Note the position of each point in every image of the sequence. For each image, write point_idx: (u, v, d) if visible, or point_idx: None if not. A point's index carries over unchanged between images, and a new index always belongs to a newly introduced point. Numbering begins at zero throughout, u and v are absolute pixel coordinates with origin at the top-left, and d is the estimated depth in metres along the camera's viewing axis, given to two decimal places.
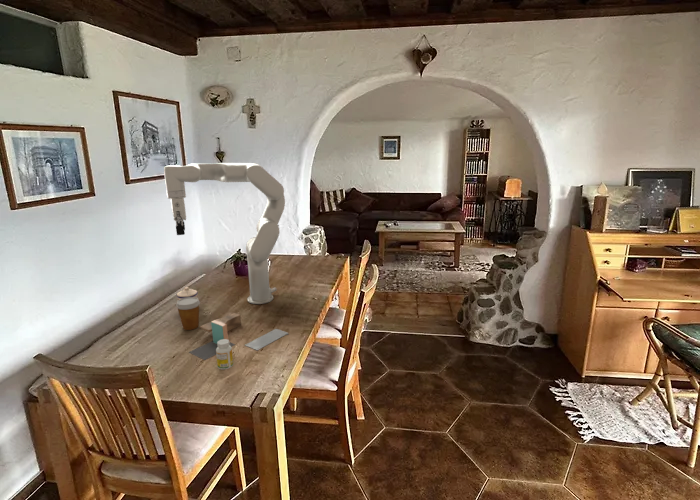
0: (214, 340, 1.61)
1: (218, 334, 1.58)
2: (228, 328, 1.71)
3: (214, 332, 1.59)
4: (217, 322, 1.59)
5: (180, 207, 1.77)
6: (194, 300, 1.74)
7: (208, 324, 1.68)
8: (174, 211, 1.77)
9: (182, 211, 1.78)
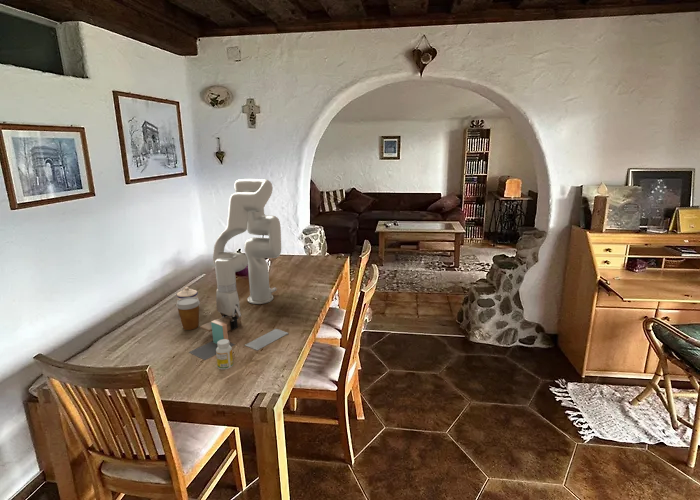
0: (214, 340, 1.61)
1: (218, 334, 1.58)
2: (228, 328, 1.72)
3: (214, 332, 1.59)
4: (217, 322, 1.59)
5: None
6: (194, 300, 1.74)
7: (208, 323, 1.68)
8: None
9: None
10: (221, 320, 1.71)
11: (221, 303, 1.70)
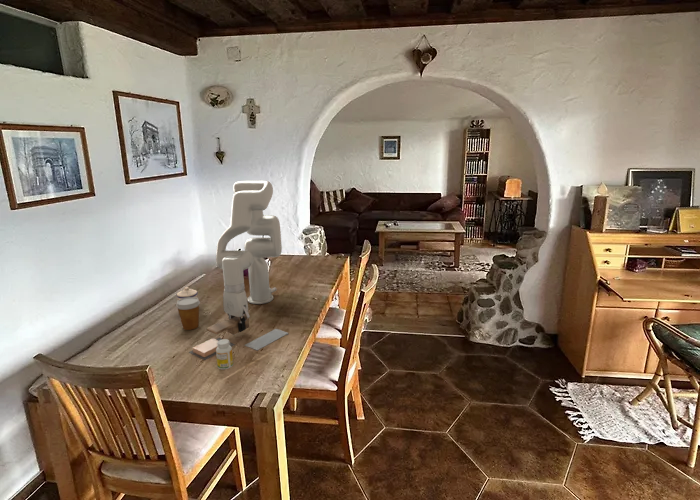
0: None
1: None
2: (236, 330, 1.63)
3: None
4: (197, 351, 1.53)
5: None
6: (194, 300, 1.74)
7: (215, 325, 1.59)
8: None
9: None
10: (228, 322, 1.62)
11: (228, 304, 1.62)
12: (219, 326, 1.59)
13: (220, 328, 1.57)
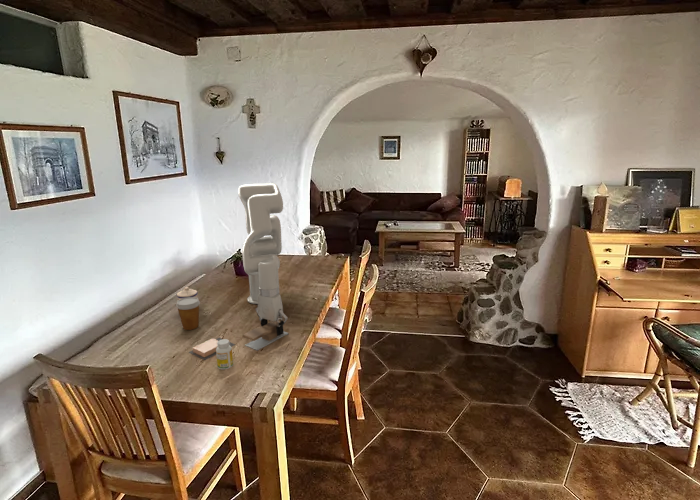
0: None
1: None
2: (271, 336, 1.63)
3: None
4: (197, 351, 1.53)
5: None
6: (194, 300, 1.74)
7: (251, 331, 1.59)
8: None
9: None
10: (264, 328, 1.62)
11: (264, 308, 1.61)
12: (255, 332, 1.58)
13: (257, 334, 1.56)
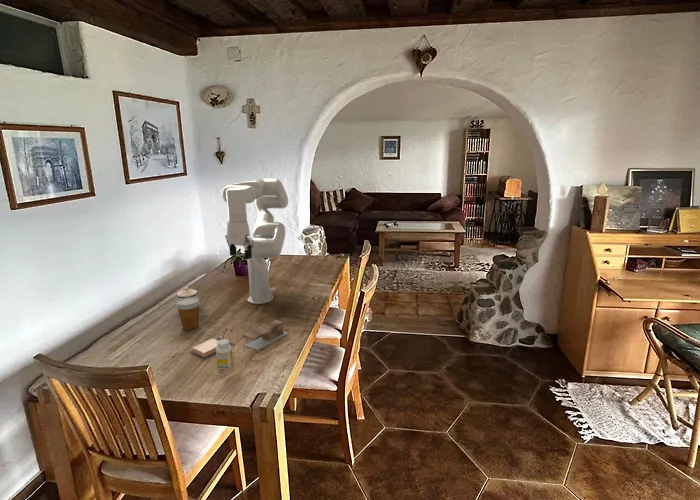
0: None
1: None
2: (271, 336, 1.63)
3: None
4: (197, 351, 1.53)
5: None
6: (194, 300, 1.74)
7: (251, 331, 1.59)
8: None
9: None
10: (264, 328, 1.62)
11: (232, 233, 1.73)
12: (255, 332, 1.58)
13: (257, 334, 1.56)
